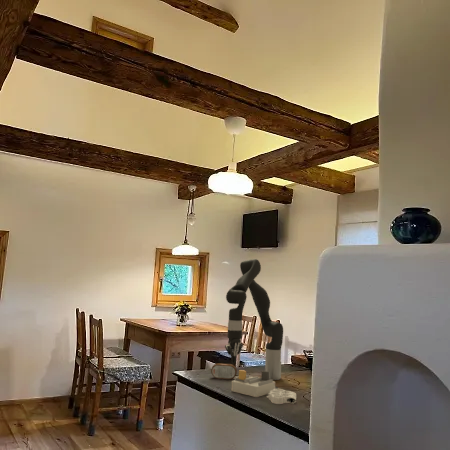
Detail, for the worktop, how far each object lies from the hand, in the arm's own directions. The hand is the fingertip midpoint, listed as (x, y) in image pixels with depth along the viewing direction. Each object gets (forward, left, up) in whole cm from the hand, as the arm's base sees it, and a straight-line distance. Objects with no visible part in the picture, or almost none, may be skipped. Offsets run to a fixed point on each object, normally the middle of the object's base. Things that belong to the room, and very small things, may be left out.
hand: (233, 363), depth 230 cm
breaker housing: (-12, +5, -15) cm, 20 cm away
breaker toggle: (-8, 0, -10) cm, 13 cm away
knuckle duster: (-10, +23, -16) cm, 30 cm away
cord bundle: (-24, +4, -15) cm, 28 cm away
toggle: (-16, +9, -10) cm, 21 cm away
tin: (-23, -24, -15) cm, 37 cm away
